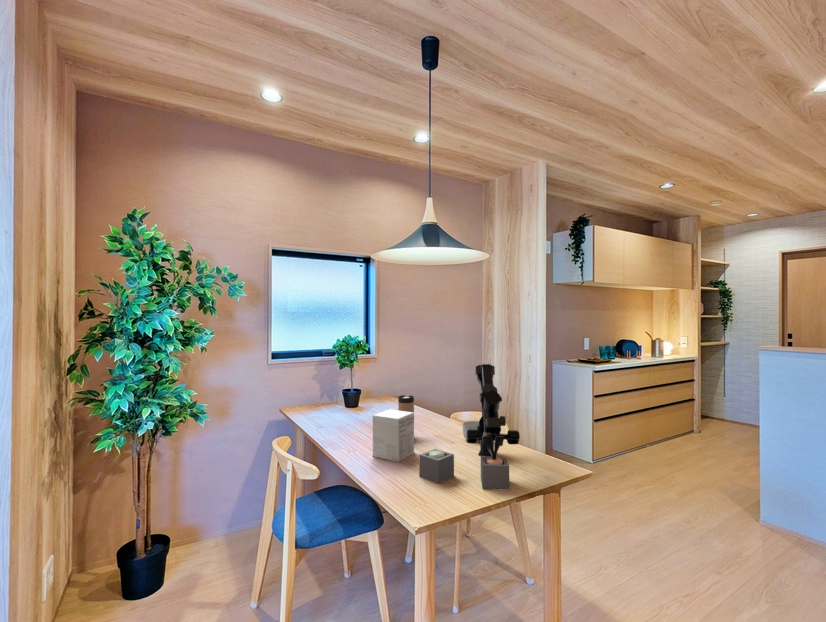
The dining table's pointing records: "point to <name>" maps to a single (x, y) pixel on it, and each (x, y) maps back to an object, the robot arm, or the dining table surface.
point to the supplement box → (393, 434)
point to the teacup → (469, 426)
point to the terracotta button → (494, 461)
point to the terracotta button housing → (494, 474)
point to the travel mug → (406, 403)
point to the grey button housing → (436, 467)
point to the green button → (436, 454)
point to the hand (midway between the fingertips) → (494, 458)
